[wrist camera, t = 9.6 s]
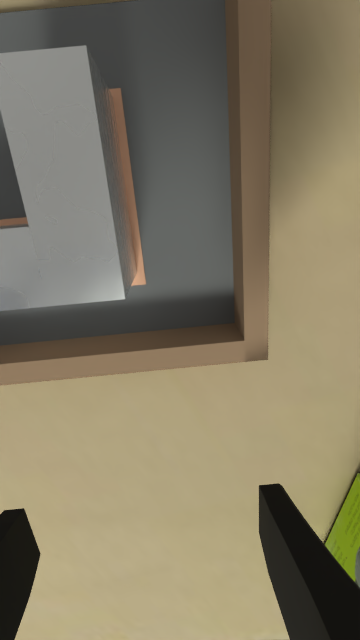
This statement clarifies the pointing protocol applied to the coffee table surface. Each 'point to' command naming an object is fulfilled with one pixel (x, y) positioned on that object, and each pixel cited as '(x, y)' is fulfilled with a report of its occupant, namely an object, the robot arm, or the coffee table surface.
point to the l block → (63, 183)
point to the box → (348, 534)
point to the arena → (163, 189)
